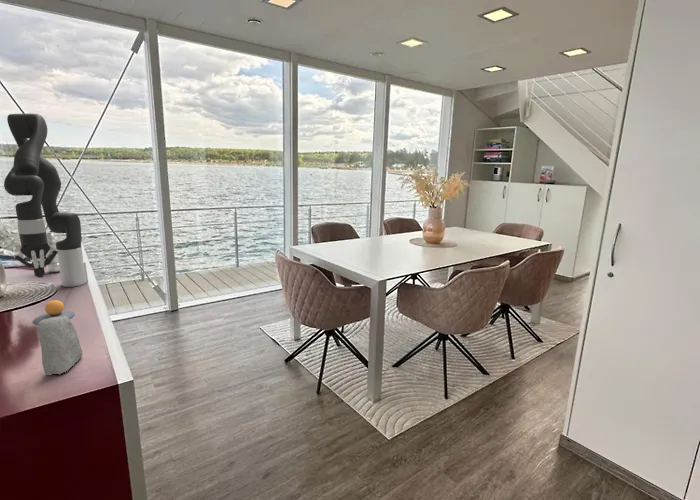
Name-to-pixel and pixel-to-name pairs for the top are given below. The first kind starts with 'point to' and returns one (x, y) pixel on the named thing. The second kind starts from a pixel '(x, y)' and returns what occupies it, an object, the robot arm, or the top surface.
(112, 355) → the top surface
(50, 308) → the ball
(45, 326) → the decorative stone
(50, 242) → the plastic bottle
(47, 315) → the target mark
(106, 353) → the top surface
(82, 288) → the top surface
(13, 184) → the robot arm
